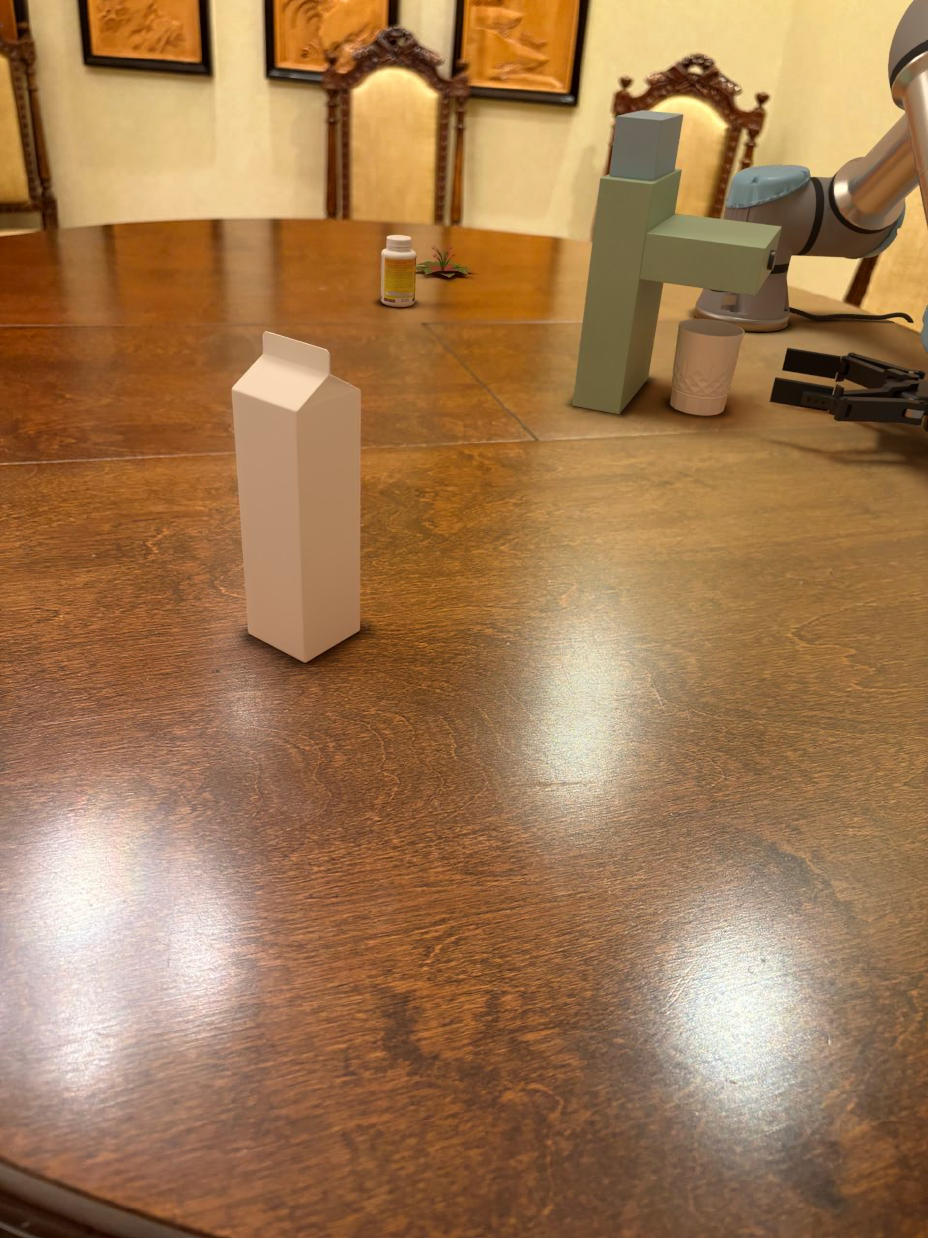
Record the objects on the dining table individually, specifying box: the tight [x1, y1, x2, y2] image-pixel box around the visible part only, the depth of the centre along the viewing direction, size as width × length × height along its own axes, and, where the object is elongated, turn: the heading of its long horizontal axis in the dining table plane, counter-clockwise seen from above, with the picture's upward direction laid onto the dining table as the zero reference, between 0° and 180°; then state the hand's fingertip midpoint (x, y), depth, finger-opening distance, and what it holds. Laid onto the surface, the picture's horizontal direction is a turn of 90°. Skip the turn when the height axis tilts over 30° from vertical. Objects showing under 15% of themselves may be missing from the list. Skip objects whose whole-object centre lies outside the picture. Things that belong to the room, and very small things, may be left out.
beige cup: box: [669, 318, 746, 417], centre depth 120 cm, size 8×8×10 cm
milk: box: [231, 331, 362, 663], centre depth 67 cm, size 6×6×22 cm
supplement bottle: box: [380, 234, 417, 308], centre depth 155 cm, size 6×6×10 cm
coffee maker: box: [572, 109, 782, 415], centre depth 115 cm, size 20×16×32 cm
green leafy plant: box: [416, 245, 476, 278], centre depth 177 cm, size 12×12×5 cm
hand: (778, 373), depth 117 cm, fingers open, 13 cm apart
